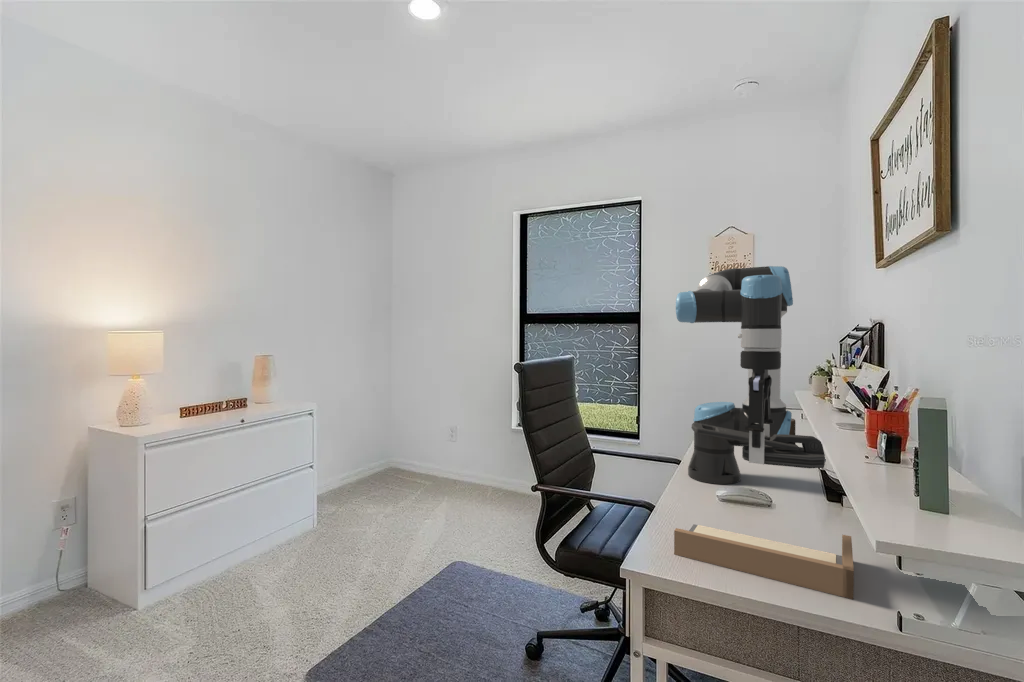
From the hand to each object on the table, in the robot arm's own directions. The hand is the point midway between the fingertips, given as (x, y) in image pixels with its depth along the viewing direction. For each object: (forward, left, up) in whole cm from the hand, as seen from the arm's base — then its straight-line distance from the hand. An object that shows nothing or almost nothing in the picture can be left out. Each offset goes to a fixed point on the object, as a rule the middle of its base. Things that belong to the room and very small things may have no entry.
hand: (759, 458), depth 102 cm
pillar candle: (-86, -3, -20) cm, 88 cm away
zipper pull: (+1, -1, 0) cm, 1 cm away
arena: (+3, 0, -20) cm, 20 cm away
